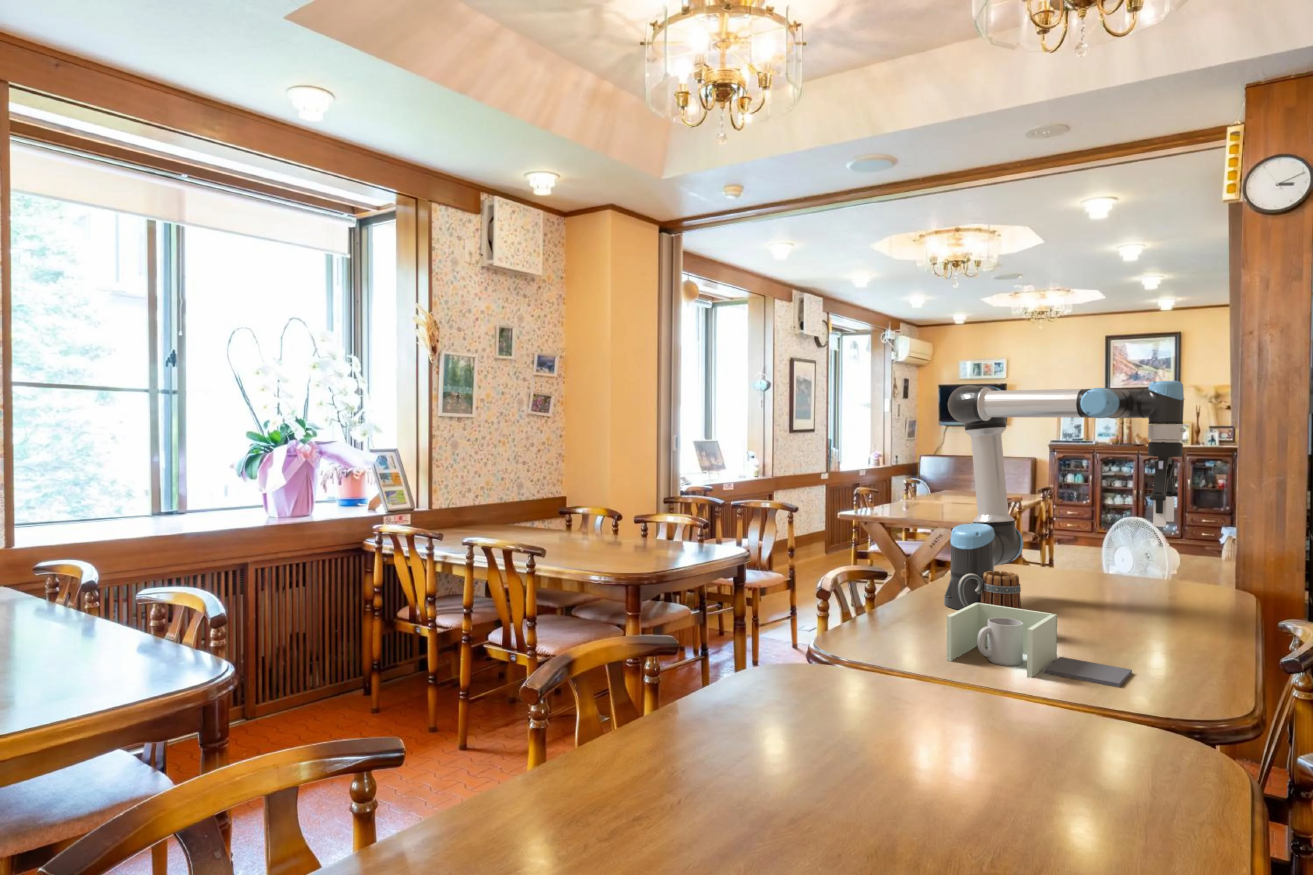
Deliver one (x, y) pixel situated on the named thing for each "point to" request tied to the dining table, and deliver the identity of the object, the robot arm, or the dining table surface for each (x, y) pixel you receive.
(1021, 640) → the cup
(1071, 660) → the mat
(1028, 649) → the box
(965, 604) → the mug
